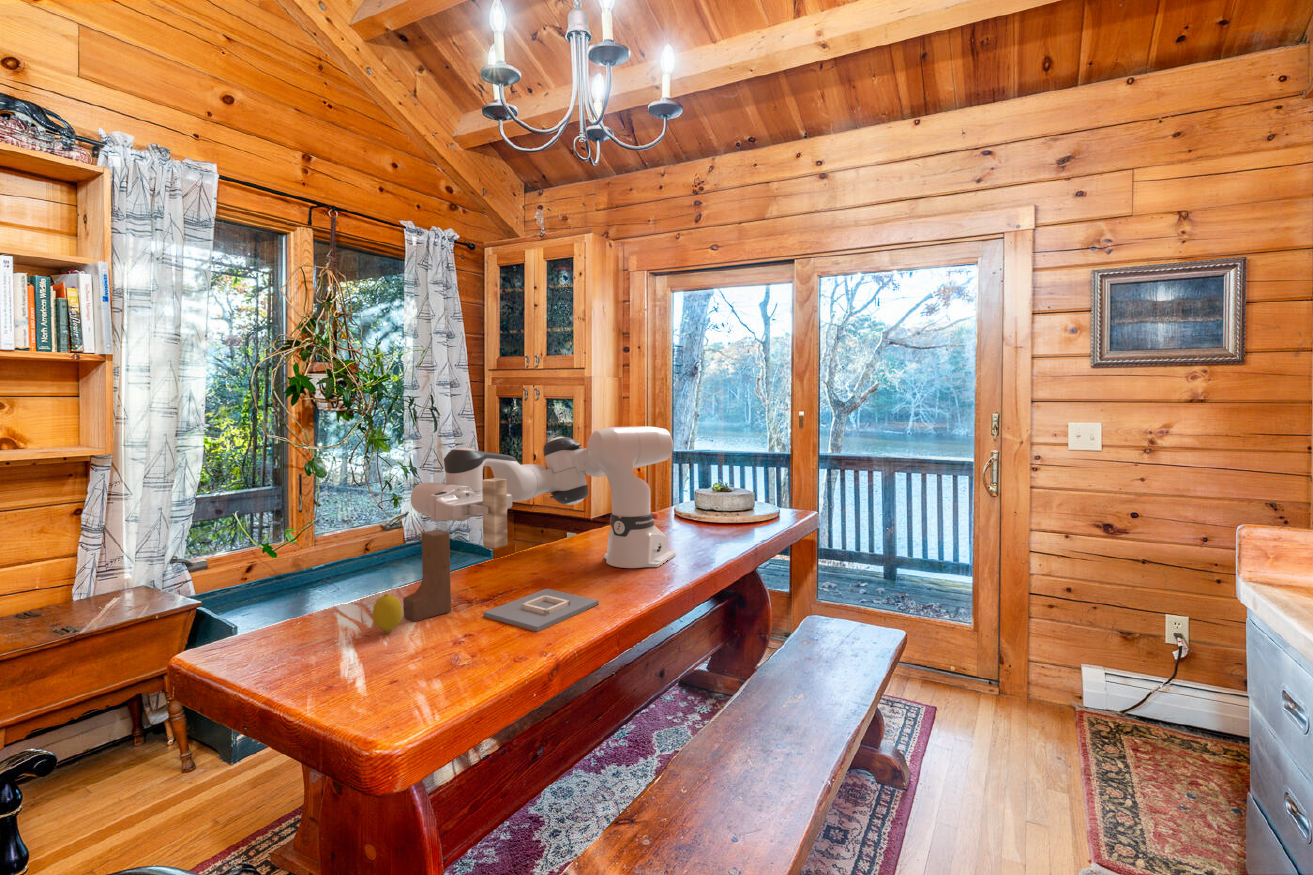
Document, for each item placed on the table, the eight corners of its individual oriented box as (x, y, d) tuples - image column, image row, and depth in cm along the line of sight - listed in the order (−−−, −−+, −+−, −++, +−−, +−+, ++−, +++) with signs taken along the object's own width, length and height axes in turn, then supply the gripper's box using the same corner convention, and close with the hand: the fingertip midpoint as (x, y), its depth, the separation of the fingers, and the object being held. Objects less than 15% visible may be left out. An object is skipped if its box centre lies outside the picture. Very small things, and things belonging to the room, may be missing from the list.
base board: (546, 592, 155) (546, 584, 155) (598, 604, 147) (598, 596, 147) (483, 616, 139) (483, 607, 139) (537, 631, 130) (537, 622, 130)
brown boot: (412, 622, 135) (410, 538, 134) (403, 617, 138) (400, 535, 137) (451, 612, 142) (450, 532, 140) (441, 607, 145) (439, 529, 143)
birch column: (495, 542, 157) (494, 478, 156) (507, 544, 155) (506, 479, 154) (483, 545, 154) (482, 479, 152) (494, 548, 151) (493, 481, 150)
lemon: (373, 629, 131) (372, 591, 130) (402, 625, 133) (401, 588, 133) (373, 639, 126) (371, 599, 125) (403, 635, 128) (402, 596, 128)
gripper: (490, 509, 169) (528, 514, 162) (425, 522, 152) (464, 529, 145) (490, 485, 169) (528, 490, 161) (424, 496, 152) (463, 501, 144)
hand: (497, 508), depth 153 cm, fingers closed on birch column, 4 cm apart
